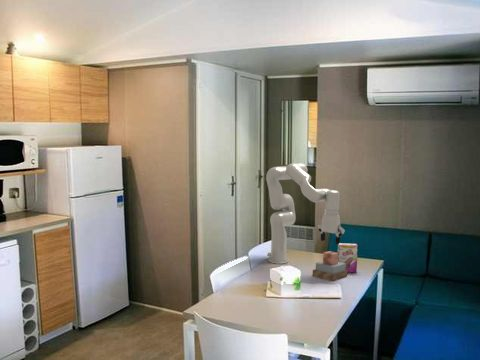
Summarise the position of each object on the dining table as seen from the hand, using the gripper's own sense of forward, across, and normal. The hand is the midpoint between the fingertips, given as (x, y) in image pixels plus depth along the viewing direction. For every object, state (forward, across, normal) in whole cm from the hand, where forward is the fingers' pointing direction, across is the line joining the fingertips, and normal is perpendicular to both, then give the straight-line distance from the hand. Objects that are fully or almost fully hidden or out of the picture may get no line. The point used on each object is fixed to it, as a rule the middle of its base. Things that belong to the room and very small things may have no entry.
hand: (330, 242), depth 266 cm
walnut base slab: (+20, +1, 0) cm, 20 cm away
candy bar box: (+20, +3, +15) cm, 25 cm away
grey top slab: (+16, +1, 0) cm, 16 cm away
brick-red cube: (+12, +1, 0) cm, 12 cm away
